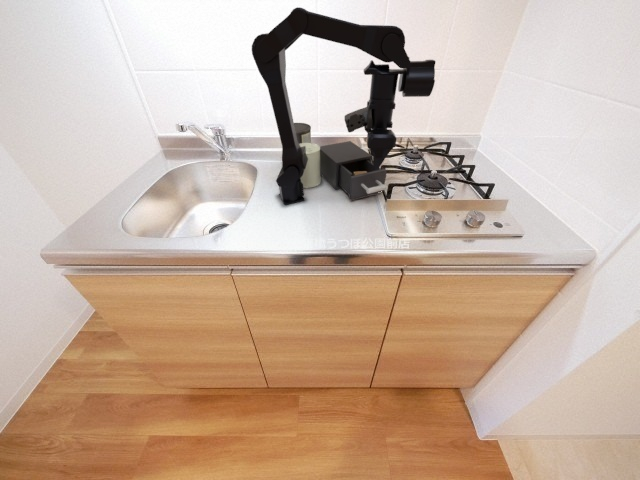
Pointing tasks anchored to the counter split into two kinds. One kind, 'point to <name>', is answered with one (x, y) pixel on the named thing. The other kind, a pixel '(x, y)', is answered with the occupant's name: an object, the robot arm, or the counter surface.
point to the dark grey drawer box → (339, 159)
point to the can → (311, 166)
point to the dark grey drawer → (361, 179)
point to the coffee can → (303, 132)
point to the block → (359, 172)
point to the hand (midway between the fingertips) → (374, 161)
